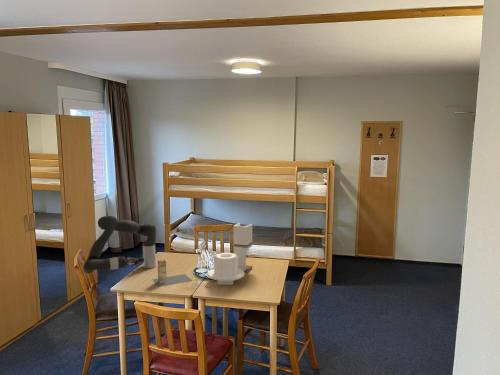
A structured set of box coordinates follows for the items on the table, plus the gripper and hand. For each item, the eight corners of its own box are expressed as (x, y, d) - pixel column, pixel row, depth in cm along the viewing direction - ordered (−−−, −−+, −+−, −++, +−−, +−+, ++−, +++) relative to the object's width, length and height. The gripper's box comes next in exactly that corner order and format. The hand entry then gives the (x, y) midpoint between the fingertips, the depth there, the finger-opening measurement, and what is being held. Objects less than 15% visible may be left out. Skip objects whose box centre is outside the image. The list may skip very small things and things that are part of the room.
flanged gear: (245, 276, 285) (245, 250, 283) (242, 289, 261) (242, 261, 258) (211, 275, 287) (210, 250, 285) (205, 288, 262) (204, 260, 260)
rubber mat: (152, 280, 277) (152, 279, 277) (184, 274, 289) (184, 273, 288) (158, 287, 263) (158, 286, 263) (192, 281, 275) (192, 280, 275)
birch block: (158, 281, 273) (157, 260, 272) (164, 280, 276) (164, 259, 274) (160, 283, 269) (159, 262, 268) (166, 282, 272) (166, 261, 270)
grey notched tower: (246, 273, 292) (247, 226, 288) (233, 271, 296) (233, 225, 291) (252, 268, 302) (252, 223, 298) (239, 267, 306) (239, 222, 302)
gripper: (118, 260, 250) (146, 256, 258) (114, 254, 262) (141, 251, 270) (118, 271, 251) (146, 267, 259) (115, 265, 262) (141, 262, 271)
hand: (143, 259), depth 264 cm, fingers closed
